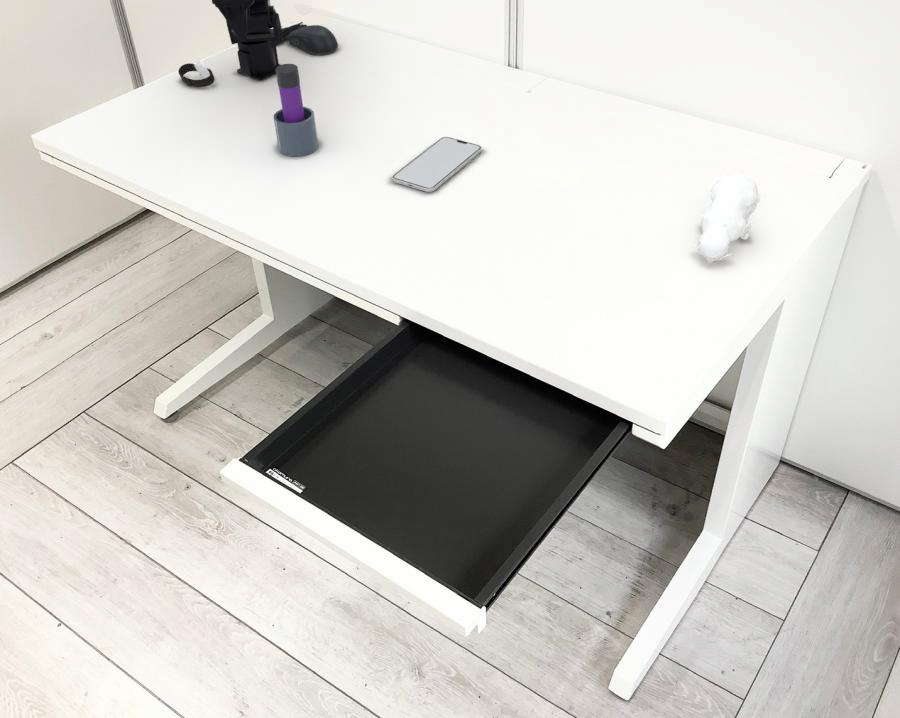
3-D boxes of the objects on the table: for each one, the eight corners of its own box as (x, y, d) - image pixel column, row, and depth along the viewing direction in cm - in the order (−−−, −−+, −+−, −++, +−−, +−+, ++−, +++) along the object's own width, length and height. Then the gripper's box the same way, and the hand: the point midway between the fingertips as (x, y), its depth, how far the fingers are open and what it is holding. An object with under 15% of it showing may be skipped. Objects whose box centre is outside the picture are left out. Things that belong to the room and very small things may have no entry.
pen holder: (298, 134, 145) (294, 102, 141) (326, 144, 142) (322, 112, 138) (270, 149, 141) (265, 117, 137) (298, 160, 138) (293, 127, 134)
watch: (222, 82, 161) (218, 63, 159) (202, 92, 158) (198, 72, 156) (193, 73, 164) (189, 54, 162) (173, 82, 162) (169, 62, 159)
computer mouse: (313, 62, 167) (311, 42, 164) (263, 44, 174) (259, 24, 172) (352, 45, 172) (350, 25, 170) (301, 28, 180) (298, 9, 177)
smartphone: (389, 177, 132) (443, 135, 141) (389, 181, 132) (443, 139, 142) (431, 190, 129) (483, 146, 138) (431, 194, 129) (484, 150, 139)
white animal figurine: (767, 172, 114) (741, 225, 107) (756, 225, 120) (730, 279, 113) (718, 161, 116) (689, 212, 109) (709, 214, 122) (681, 266, 115)
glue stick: (293, 138, 143) (282, 62, 134) (312, 141, 142) (301, 64, 134) (284, 147, 140) (271, 71, 132) (302, 150, 139) (291, 73, 131)
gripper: (278, -59, 128) (293, 47, 139) (281, -93, 142) (295, 6, 153) (200, -54, 128) (221, 53, 138) (211, -89, 142) (229, 10, 152)
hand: (245, 29), depth 145 cm, fingers open, 9 cm apart
